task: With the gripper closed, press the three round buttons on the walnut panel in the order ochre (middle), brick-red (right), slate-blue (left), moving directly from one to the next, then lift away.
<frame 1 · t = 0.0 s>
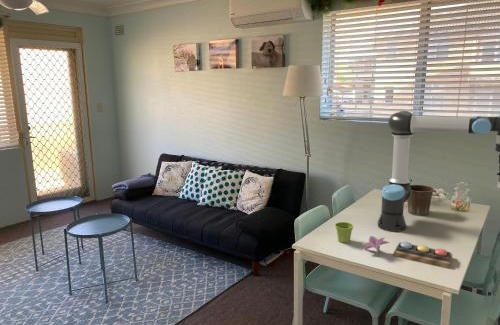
button blue: (406, 245, 178), point 4 cm above the table, slide at 0.0 cm
button panel: (422, 256, 175), on the table
plant pot 2: (343, 241, 195), on the table
lily: (375, 253, 181), on the table
button red: (441, 252, 170), point 4 cm above the table, slide at 0.0 cm
button ochre: (423, 249, 174), point 4 cm above the table, slide at 0.0 cm
plant pot: (417, 212, 235), on the table
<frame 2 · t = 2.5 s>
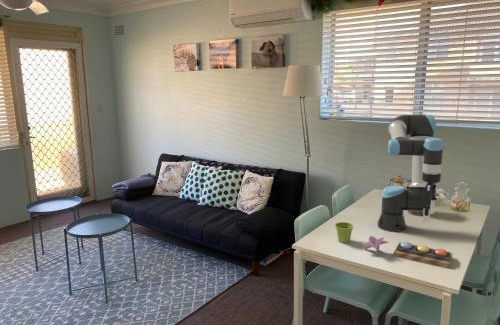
hand: (428, 217, 172), 19 cm above the table, tool pointing down, fingers open, 13 cm apart
nothing on the table moved.
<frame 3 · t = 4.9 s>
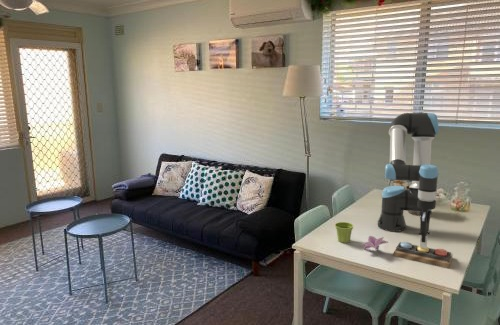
hand: (423, 247, 174), 5 cm above the table, tool pointing down, fingers closed
button ochre: (423, 249, 174), point 4 cm above the table, slide at 0.3 cm, touching gripper
everything else where it was.
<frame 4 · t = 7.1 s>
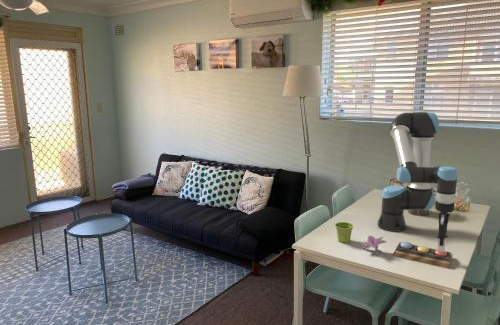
hand: (441, 251, 170), 5 cm above the table, tool pointing down, fingers closed
button red: (440, 253, 170), point 4 cm above the table, slide at 0.3 cm, touching gripper
button ochre: (423, 249, 174), point 4 cm above the table, slide at 0.4 cm
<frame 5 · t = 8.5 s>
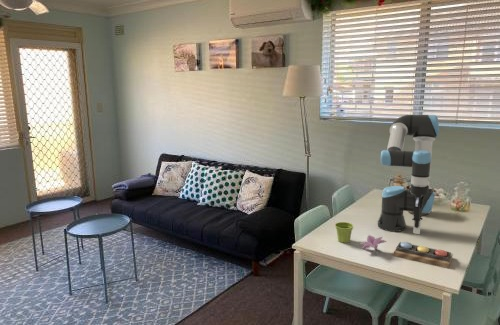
hand: (416, 233, 175), 11 cm above the table, tool pointing down, fingers closed
button red: (440, 253, 170), point 4 cm above the table, slide at 0.4 cm
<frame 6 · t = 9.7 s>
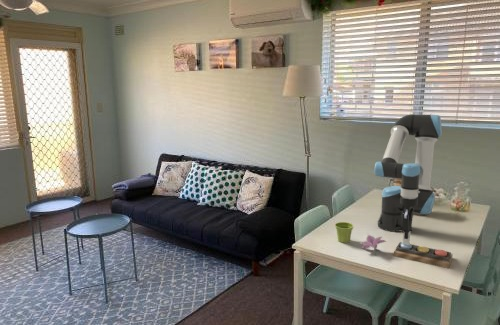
hand: (406, 244, 178), 5 cm above the table, tool pointing down, fingers closed
button blue: (406, 246, 178), point 4 cm above the table, slide at 0.3 cm, touching gripper
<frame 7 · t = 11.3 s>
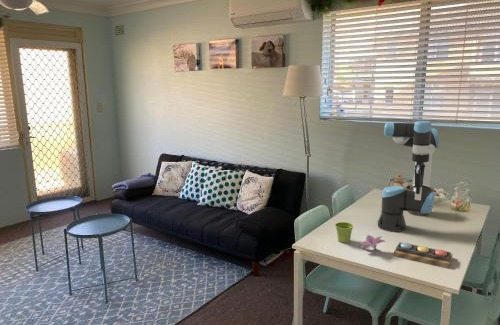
hand: (417, 199, 186), 23 cm above the table, tool pointing down, fingers closed
button blue: (406, 246, 179), point 4 cm above the table, slide at 0.4 cm
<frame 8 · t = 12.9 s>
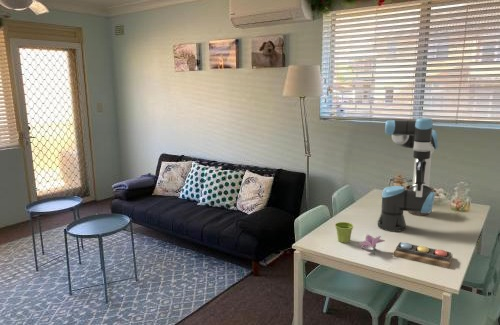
hand: (418, 196, 186), 24 cm above the table, tool pointing down, fingers closed
at the end: button ochre slide at 0.4 cm; button red slide at 0.4 cm; button blue slide at 0.4 cm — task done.
